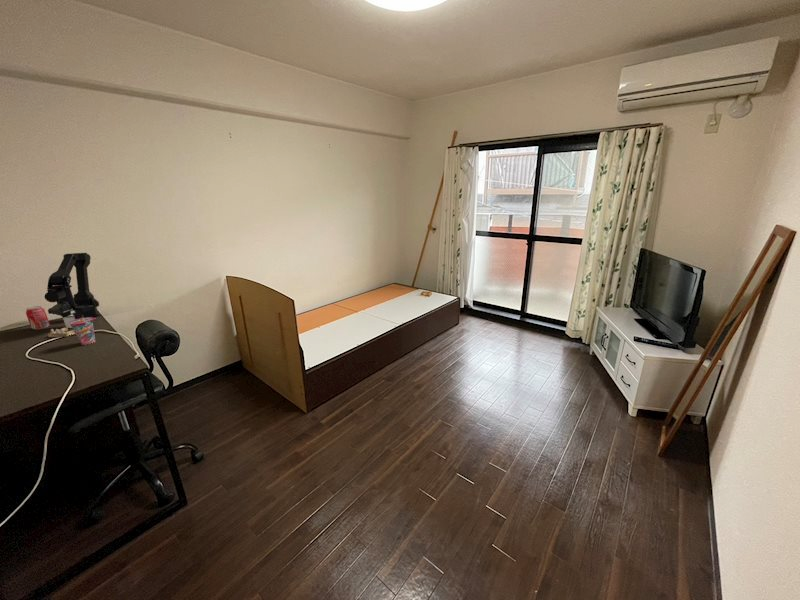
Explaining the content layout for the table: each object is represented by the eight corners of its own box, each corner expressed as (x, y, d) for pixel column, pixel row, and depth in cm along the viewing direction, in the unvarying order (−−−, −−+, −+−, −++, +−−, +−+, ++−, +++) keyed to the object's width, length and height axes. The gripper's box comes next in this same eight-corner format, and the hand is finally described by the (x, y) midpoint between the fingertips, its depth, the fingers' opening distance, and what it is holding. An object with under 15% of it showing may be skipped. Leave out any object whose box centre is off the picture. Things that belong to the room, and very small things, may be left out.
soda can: (36, 327, 181) (28, 306, 178) (53, 324, 184) (45, 305, 181) (29, 331, 175) (21, 310, 172) (46, 328, 178) (38, 308, 175)
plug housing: (76, 323, 184) (73, 313, 182) (84, 323, 184) (80, 313, 182) (66, 327, 178) (62, 317, 176) (74, 327, 178) (70, 317, 176)
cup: (78, 348, 153) (70, 324, 149) (75, 343, 158) (67, 321, 154) (104, 341, 160) (96, 318, 156) (99, 337, 165) (92, 315, 161)
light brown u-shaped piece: (66, 330, 175) (63, 323, 174) (83, 329, 176) (81, 323, 174) (48, 337, 166) (45, 330, 165) (67, 336, 167) (64, 329, 165)
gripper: (32, 302, 168) (43, 329, 173) (68, 301, 168) (78, 328, 173) (54, 296, 179) (63, 322, 183) (88, 295, 179) (96, 321, 184)
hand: (74, 323), depth 181 cm, fingers closed on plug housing, 4 cm apart
